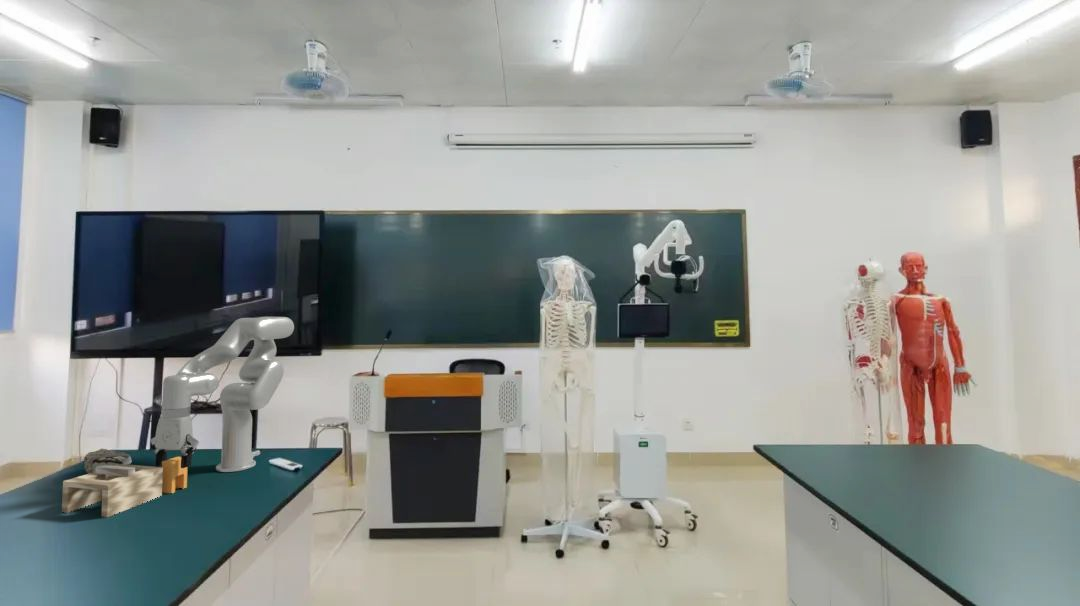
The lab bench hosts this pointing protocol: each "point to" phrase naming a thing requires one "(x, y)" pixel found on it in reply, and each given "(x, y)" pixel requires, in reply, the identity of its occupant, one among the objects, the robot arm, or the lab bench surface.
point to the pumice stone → (96, 454)
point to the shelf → (113, 488)
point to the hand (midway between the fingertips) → (173, 465)
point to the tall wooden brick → (173, 475)
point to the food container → (110, 460)
